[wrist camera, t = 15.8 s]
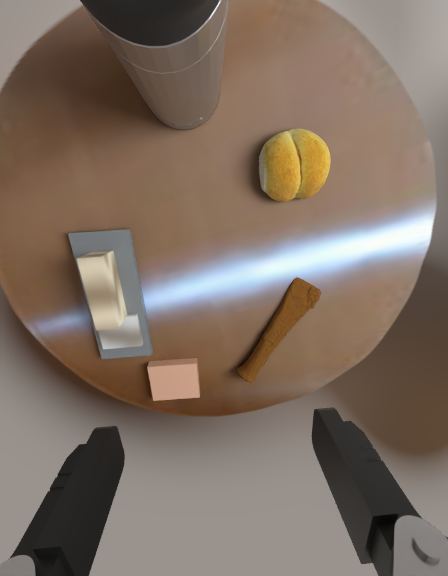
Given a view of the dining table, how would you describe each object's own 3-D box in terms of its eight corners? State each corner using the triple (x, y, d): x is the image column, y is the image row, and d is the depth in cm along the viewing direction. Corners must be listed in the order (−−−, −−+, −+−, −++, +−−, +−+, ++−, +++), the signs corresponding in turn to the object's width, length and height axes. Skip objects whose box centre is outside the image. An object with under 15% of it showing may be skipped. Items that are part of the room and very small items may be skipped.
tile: (147, 367, 40) (153, 400, 42) (196, 363, 40) (199, 397, 42) (150, 359, 42) (155, 392, 44) (197, 356, 42) (200, 389, 44)
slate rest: (71, 232, 34) (67, 233, 33) (130, 228, 34) (127, 229, 33) (104, 355, 40) (101, 359, 39) (152, 351, 41) (151, 355, 40)
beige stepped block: (80, 253, 34) (63, 259, 30) (124, 249, 34) (113, 255, 30) (105, 346, 39) (93, 362, 35) (143, 343, 39) (136, 358, 35)
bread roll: (324, 194, 34) (338, 194, 30) (260, 204, 34) (267, 204, 30) (324, 126, 31) (339, 116, 28) (255, 136, 31) (261, 128, 28)
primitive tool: (295, 275, 38) (303, 282, 35) (322, 290, 39) (333, 299, 36) (233, 367, 43) (235, 380, 40) (259, 378, 44) (263, 392, 41)
